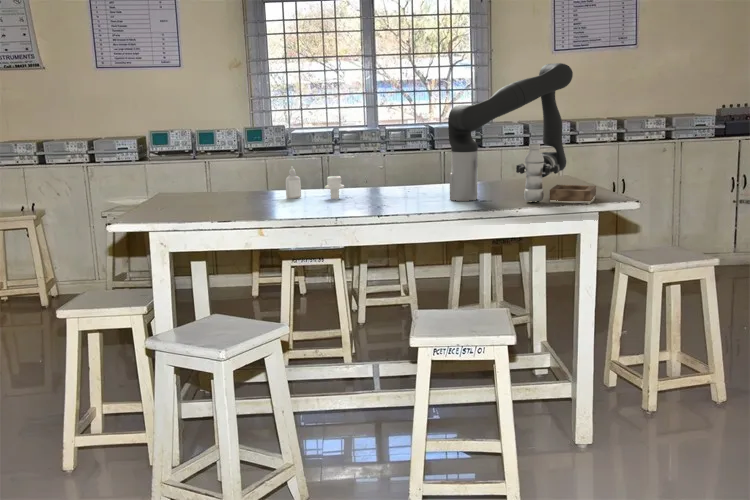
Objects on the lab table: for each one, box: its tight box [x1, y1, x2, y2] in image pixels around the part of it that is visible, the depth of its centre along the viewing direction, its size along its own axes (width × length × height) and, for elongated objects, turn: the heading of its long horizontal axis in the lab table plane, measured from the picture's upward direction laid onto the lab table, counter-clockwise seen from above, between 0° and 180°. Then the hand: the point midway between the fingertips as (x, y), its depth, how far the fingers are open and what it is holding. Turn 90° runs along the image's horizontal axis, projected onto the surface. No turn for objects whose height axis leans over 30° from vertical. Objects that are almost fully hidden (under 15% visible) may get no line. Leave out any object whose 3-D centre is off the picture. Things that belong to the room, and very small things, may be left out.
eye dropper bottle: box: [285, 165, 302, 200], centre depth 280 cm, size 4×6×12 cm
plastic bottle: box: [523, 143, 545, 202], centre depth 253 cm, size 6×7×20 cm
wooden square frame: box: [549, 184, 597, 201], centre depth 256 cm, size 14×14×4 cm
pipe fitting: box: [324, 175, 345, 200], centre depth 277 cm, size 6×7×8 cm
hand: (533, 170), depth 252 cm, fingers open, 8 cm apart
